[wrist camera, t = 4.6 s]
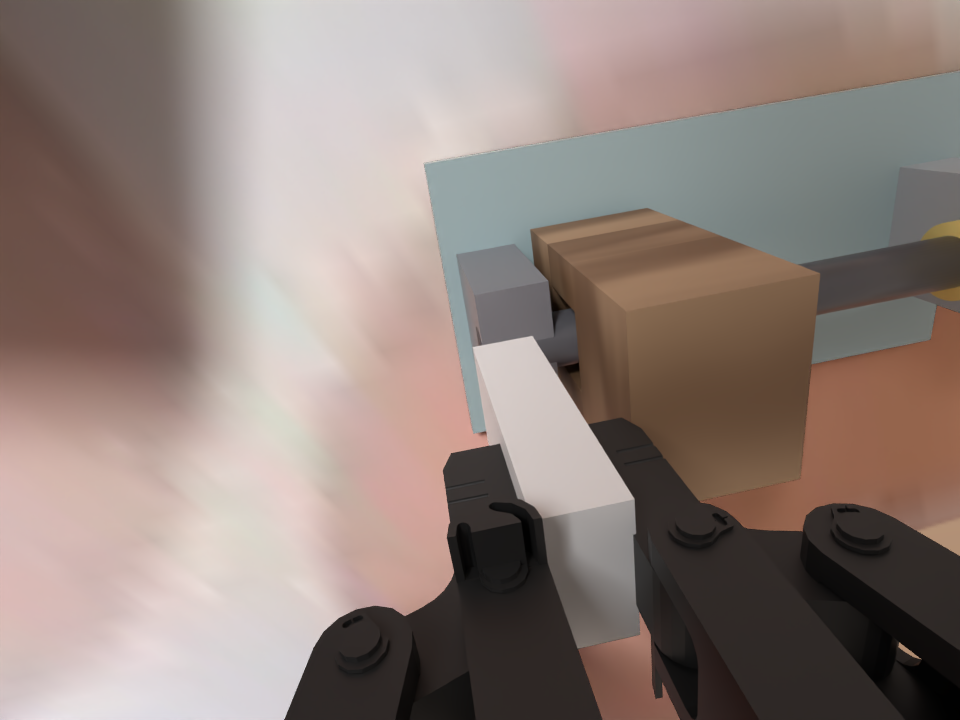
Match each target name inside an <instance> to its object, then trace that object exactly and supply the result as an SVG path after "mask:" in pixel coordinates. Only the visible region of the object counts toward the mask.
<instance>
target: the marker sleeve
mask: <svg viewBox="0 0 960 720" xmlns="http://www.w3.org/2000/svg"><path fill="white" fill-rule="evenodd" d="M530 233H531V242H532V251H533V260H534V266H535V267H536V268H537V269H538V270H539V271H540V272H541V274H542V275H543V276H544V277H545V278H546V279H547V280H548V282H549V291H550V301H551V310H552V312H554V311H559V310H564V309H569V308H572V309H573V310H574V312H575V321H576V333H577V344H578V356H579V363H575V364H570V365H565V366H560V367H557V368H558V377H559V379H560V381H561V382H562V384H563V386H564V387H565V389H566V390H567V392H568V394H569V395H570V397H571V398H572V400H573V402H574V403H575V405H576V406H577V408H578V410H579V411H580V413H581V414H582V416H583V418H584V419H585V421H586V422H587V424H591V423H596V422H601V421H606V420H611V419H616V418H621V417H622V418H624V419H625V420H627V421H629V422H631V423H633V424H635V425H636V426H638V427H640V428H642V430H643V431H644V432H645V433H646V435H647V436H648V437H649V438H650V440H651V441H652V442H653V445H654V446H656V447H657V449H658V450H659V451H660V452H661V454H662V455H663V458H664V459H666V460H667V461H668V463H669V464H670V465H671V466H672V468H673V469H674V470H675V471H676V473H677V474H678V475H679V477H680V478H681V479H682V480H683V482H684V483H685V484H686V485H687V487H688V488H689V489H690V490H691V492H692V493H693V494H694V496H695V497H696V498H697V499H698V501H702V500H707V499H712V498H716V497H721V496H725V495H730V494H734V493H739V492H743V491H748V490H753V489H757V488H762V487H766V486H771V485H775V484H780V483H785V482H789V481H794V480H798V479H800V476H801V466H802V456H803V445H804V435H805V425H806V415H807V405H808V394H809V384H810V374H811V364H812V354H813V343H814V333H815V323H816V313H817V303H818V292H819V282H820V273H818V272H815V271H813V270H810V269H807V268H805V267H802V266H799V265H797V264H794V263H791V262H789V261H786V260H784V259H781V258H778V257H776V256H773V255H770V254H768V253H765V252H762V251H760V250H757V249H755V248H752V247H749V246H747V245H744V244H741V243H739V242H736V241H733V240H731V239H728V238H726V237H723V236H720V235H718V234H715V233H712V232H710V231H707V230H704V229H702V228H699V227H697V226H694V225H691V224H689V223H686V222H683V221H681V220H678V219H675V218H673V217H670V216H667V215H665V214H662V213H660V212H657V211H654V210H652V209H649V208H644V209H638V210H633V211H627V212H622V213H616V214H611V215H605V216H600V217H594V218H589V219H583V220H578V221H572V222H567V223H561V224H556V225H550V226H545V227H540V228H534V229H530Z"/></svg>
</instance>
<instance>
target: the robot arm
mask: <svg viewBox="0 0 960 720" xmlns="http://www.w3.org/2000/svg"><path fill="white" fill-rule="evenodd" d="M473 352H474V359H475V365H476V371H477V377H478V383H479V389H480V395H481V402H482V408H483V414H484V420H485V426H486V432H487V438H488V443H489V446H486V447H481V448H476V449H471V450H466V451H461V452H456V453H451V455H450V457H449V459H448V461H447V463H446V465H445V467H444V469H443V474H444V481H445V488H446V495H447V502H448V509H449V517H450V524H449V528H448V534H447V540H448V545H449V549H450V554H451V559H452V563H453V568H454V574H453V577H452V580H451V581H450V583H449V584H448V586H447V587H446V589H445V590H444V591H443V592H442V593H441V594H440V595H439V596H438V597H437V598H436V599H435V600H433V601H432V602H430V603H428V604H427V605H425V606H424V607H422V608H420V609H418V610H416V611H414V612H412V613H410V614H409V615H407V616H403V615H402V614H400V613H399V612H397V611H396V610H394V609H393V608H387V607H380V606H372V607H366V608H361V609H356V610H354V611H352V612H350V613H348V614H346V615H344V616H342V617H340V618H339V619H337V620H336V621H335V622H334V623H333V624H332V625H331V626H330V627H328V628H327V629H326V630H325V631H324V632H323V634H322V635H321V637H320V639H319V640H318V642H317V643H316V645H315V647H314V648H313V651H312V653H311V656H310V658H309V660H308V663H307V665H306V668H305V670H304V673H303V675H302V678H301V680H300V683H299V685H298V688H297V690H296V692H295V695H294V697H293V700H292V702H291V705H290V707H289V710H288V712H287V715H286V717H285V719H284V720H602V717H601V714H600V711H599V708H598V706H597V703H596V700H595V697H594V694H593V691H592V688H591V686H590V683H589V680H588V677H587V674H586V671H585V668H584V665H583V663H582V660H581V657H580V654H579V651H578V649H580V648H584V647H588V646H593V645H597V644H602V643H606V642H610V641H615V640H619V639H624V638H628V637H632V636H637V635H640V620H639V612H640V614H641V616H642V618H643V620H644V622H645V624H646V626H647V628H648V630H649V632H650V634H651V654H652V685H653V689H654V694H655V698H656V699H657V698H662V697H663V694H662V682H663V684H664V686H665V688H666V690H667V693H668V695H669V697H670V699H671V701H672V703H673V705H674V707H675V710H676V712H677V714H678V716H679V718H680V720H960V556H958V555H957V554H955V553H954V552H952V551H950V550H948V549H947V548H945V547H943V546H942V545H940V544H938V543H936V542H935V541H933V540H931V539H929V538H928V537H926V536H924V535H923V534H921V533H919V532H917V531H916V530H914V529H912V528H911V527H909V526H907V525H905V524H904V523H902V522H900V521H899V520H897V519H895V518H893V517H891V516H889V515H887V514H884V513H882V512H880V511H878V510H875V509H872V508H868V507H864V506H859V505H855V504H829V505H825V506H821V507H817V508H815V509H814V510H813V511H812V512H810V513H809V514H808V515H806V519H805V522H804V526H803V532H802V531H768V530H755V529H747V528H744V527H743V526H742V525H741V524H740V523H739V522H738V521H737V520H736V519H735V518H734V517H732V516H731V515H730V514H729V513H728V512H726V511H724V510H722V509H720V508H717V507H715V506H713V505H710V504H705V503H700V502H699V501H698V499H697V498H696V497H695V496H694V494H693V493H692V492H691V490H690V489H689V488H688V487H687V485H686V484H685V483H684V482H683V480H682V479H681V478H680V477H679V475H678V474H677V473H676V471H675V470H674V469H673V468H672V466H671V465H670V464H669V463H668V461H667V460H666V459H664V458H663V455H662V454H661V452H660V451H659V450H658V449H657V447H656V446H654V445H653V442H652V441H651V440H650V438H649V437H648V436H647V435H646V433H645V432H644V431H643V430H642V428H640V427H638V426H636V425H635V424H633V423H631V422H629V421H627V420H625V419H624V418H622V417H621V418H616V419H611V420H606V421H601V422H596V423H591V424H587V422H586V421H585V419H584V418H583V416H582V414H581V413H580V411H579V410H578V408H577V406H576V405H575V403H574V402H573V400H572V398H571V397H570V395H569V394H568V392H567V390H566V389H565V387H564V386H563V384H562V382H561V381H560V379H559V378H558V376H557V374H556V373H555V371H554V370H553V368H552V366H551V365H550V363H549V362H548V360H547V358H546V357H545V355H544V354H543V352H542V350H541V349H540V347H539V346H538V344H537V342H536V341H535V339H534V338H533V336H529V337H524V338H518V339H513V340H508V341H503V342H497V343H492V344H487V345H481V346H476V347H473ZM899 642H900V643H901V644H902V645H904V646H905V647H906V648H908V649H909V650H910V651H912V652H913V653H914V654H915V655H917V656H918V657H919V658H921V659H922V660H921V659H917V658H914V657H912V656H910V655H909V654H907V653H905V652H904V651H902V650H901V649H900V648H899V647H898V646H899Z"/></svg>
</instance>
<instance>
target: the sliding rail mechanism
mask: <svg viewBox="0 0 960 720" xmlns="http://www.w3.org/2000/svg"><path fill="white" fill-rule="evenodd" d="M424 167H425V172H426V178H427V183H428V189H429V194H430V200H431V205H432V211H433V216H434V222H435V227H436V233H437V238H438V244H439V249H440V255H441V260H442V266H443V271H444V277H445V282H446V288H447V293H448V299H449V304H450V310H451V315H452V321H453V326H454V332H455V337H456V343H457V348H458V354H459V359H460V365H461V370H462V376H463V381H464V386H465V392H466V397H467V403H468V408H469V414H470V419H471V425H472V430H473V433H479V432H484V431H486V426H485V420H484V414H483V408H482V402H481V395H480V389H479V383H478V377H477V371H476V365H475V359H474V352H473V347H476V346H481V345H487V344H492V343H497V342H503V341H508V340H513V339H518V338H524V337H529V336H533V338H534V339H535V341H536V342H537V344H538V346H539V347H540V349H541V350H542V352H543V354H544V355H545V357H546V358H547V360H548V362H549V363H550V365H551V366H552V368H553V370H554V371H555V373H556V374H557V376H558V368H557V367H560V366H565V365H570V364H575V363H579V356H578V344H577V333H576V321H575V312H574V310H573V309H572V308H569V309H564V310H559V311H554V312H552V310H551V301H550V291H549V282H548V280H547V279H546V278H545V277H544V276H543V275H542V274H541V272H540V271H539V270H538V269H537V268H536V267H535V266H534V260H533V251H532V242H531V233H530V229H534V228H540V227H545V226H550V225H556V224H561V223H567V222H572V221H578V220H583V219H589V218H594V217H600V216H605V215H611V214H616V213H622V212H627V211H633V210H638V209H644V208H649V209H652V210H654V211H657V212H660V213H662V214H665V215H667V216H670V217H673V218H675V219H678V220H681V221H683V222H686V223H689V224H691V225H694V226H697V227H699V228H702V229H704V230H707V231H710V232H712V233H715V234H718V235H720V236H723V237H726V238H728V239H731V240H733V241H736V242H739V243H741V244H744V245H747V246H749V247H752V248H755V249H757V250H760V251H762V252H765V253H768V254H770V255H773V256H776V257H778V258H781V259H784V260H786V261H789V262H791V263H794V264H797V265H799V266H802V267H805V268H807V269H810V270H813V271H815V272H818V273H820V282H819V292H818V303H817V313H816V323H815V333H814V343H813V354H812V364H815V363H820V362H825V361H830V360H835V359H839V358H844V357H849V356H854V355H859V354H864V353H869V352H873V351H878V350H883V349H888V348H893V347H898V346H903V345H908V344H912V343H917V342H922V341H927V340H930V339H931V334H932V328H933V323H934V318H935V313H936V307H937V305H938V306H941V307H944V308H947V309H950V310H952V311H955V312H958V313H960V70H959V71H953V72H948V73H942V74H936V75H930V76H924V77H919V78H913V79H907V80H901V81H895V82H890V83H884V84H878V85H872V86H866V87H861V88H855V89H849V90H843V91H838V92H832V93H826V94H820V95H814V96H809V97H803V98H797V99H791V100H785V101H780V102H774V103H768V104H762V105H756V106H751V107H745V108H739V109H733V110H727V111H722V112H716V113H710V114H704V115H699V116H693V117H687V118H681V119H675V120H670V121H664V122H658V123H652V124H646V125H641V126H635V127H629V128H623V129H617V130H612V131H606V132H600V133H594V134H588V135H583V136H577V137H571V138H565V139H560V140H554V141H548V142H542V143H536V144H531V145H525V146H519V147H513V148H507V149H502V150H496V151H490V152H484V153H478V154H473V155H467V156H461V157H455V158H449V159H444V160H438V161H432V162H426V163H424ZM558 378H559V377H558Z"/></svg>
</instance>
